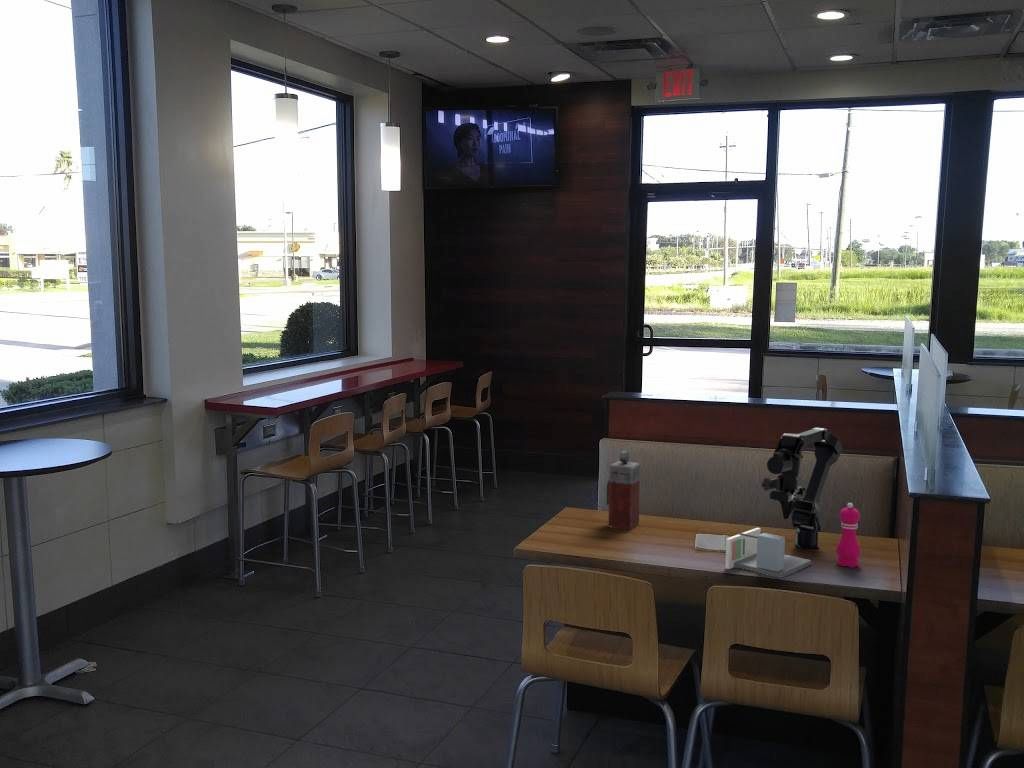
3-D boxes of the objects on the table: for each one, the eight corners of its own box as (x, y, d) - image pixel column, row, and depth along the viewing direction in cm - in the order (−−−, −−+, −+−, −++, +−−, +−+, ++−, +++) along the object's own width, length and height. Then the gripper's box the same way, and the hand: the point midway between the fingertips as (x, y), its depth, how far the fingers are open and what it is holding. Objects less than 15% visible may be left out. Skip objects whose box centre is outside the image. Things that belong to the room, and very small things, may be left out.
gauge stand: (761, 553, 297) (762, 525, 296) (810, 564, 285) (812, 535, 284) (725, 568, 281) (726, 538, 280) (775, 580, 269) (776, 549, 268)
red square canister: (610, 521, 340) (611, 447, 337) (639, 524, 335) (640, 450, 332) (602, 526, 332) (603, 451, 329) (631, 529, 327) (632, 454, 324)
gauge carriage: (742, 558, 285) (743, 527, 284) (785, 568, 275) (786, 536, 274) (735, 561, 282) (735, 530, 281) (777, 571, 271) (778, 539, 270)
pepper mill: (832, 561, 289) (834, 500, 287) (855, 561, 289) (857, 500, 287) (840, 567, 282) (842, 505, 280) (863, 568, 281) (865, 505, 279)
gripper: (776, 465, 307) (771, 510, 308) (756, 470, 292) (751, 518, 293) (808, 471, 300) (804, 516, 302) (790, 476, 285) (785, 524, 286)
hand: (785, 518), depth 296 cm, fingers closed
